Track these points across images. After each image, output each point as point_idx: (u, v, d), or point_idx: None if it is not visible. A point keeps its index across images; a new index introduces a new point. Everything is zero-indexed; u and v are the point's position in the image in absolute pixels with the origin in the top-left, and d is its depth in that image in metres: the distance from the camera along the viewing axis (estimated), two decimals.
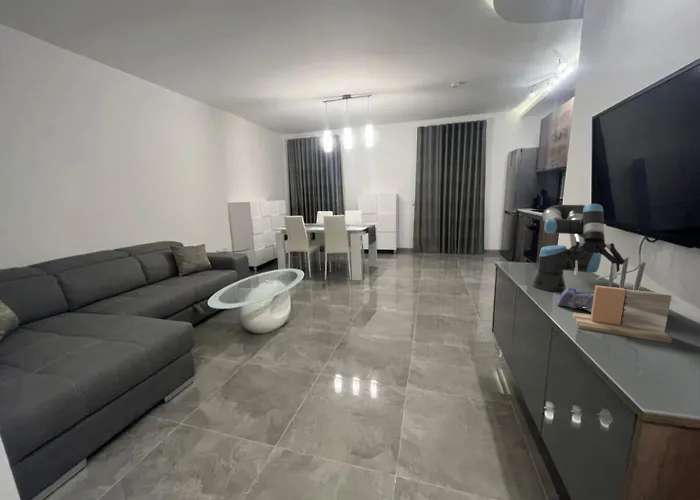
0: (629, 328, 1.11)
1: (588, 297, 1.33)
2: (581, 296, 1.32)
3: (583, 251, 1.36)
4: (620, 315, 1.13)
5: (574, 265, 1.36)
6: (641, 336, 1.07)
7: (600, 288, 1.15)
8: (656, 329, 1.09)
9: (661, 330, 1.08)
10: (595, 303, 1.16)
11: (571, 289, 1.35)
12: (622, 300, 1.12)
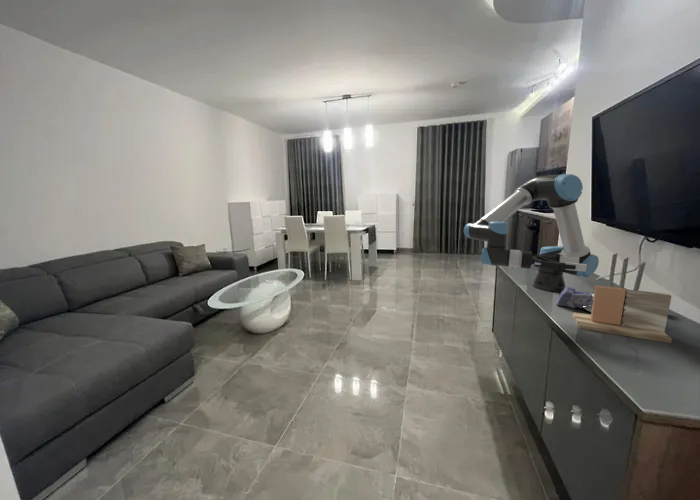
0: (629, 328, 1.11)
1: (587, 297, 1.33)
2: (580, 296, 1.33)
3: None
4: (620, 315, 1.13)
5: None
6: (641, 336, 1.07)
7: (600, 288, 1.15)
8: (656, 329, 1.09)
9: (661, 330, 1.08)
10: (595, 303, 1.16)
11: (570, 289, 1.36)
12: (622, 300, 1.12)
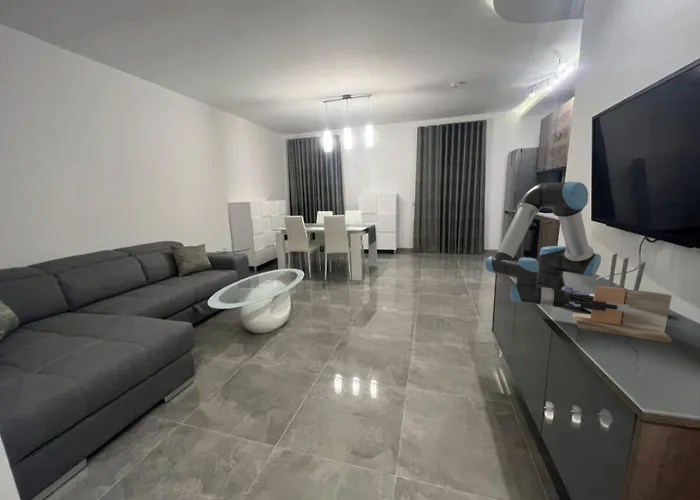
0: (629, 328, 1.11)
1: None
2: None
3: None
4: (620, 315, 1.13)
5: None
6: (641, 336, 1.07)
7: (600, 288, 1.15)
8: (656, 329, 1.09)
9: (661, 330, 1.08)
10: None
11: (568, 288, 1.37)
12: (622, 300, 1.12)
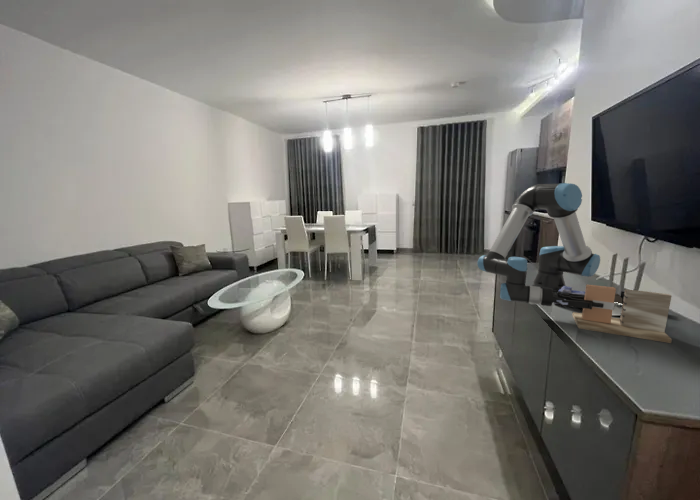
0: (629, 328, 1.11)
1: None
2: None
3: None
4: (610, 314, 1.15)
5: None
6: (641, 336, 1.07)
7: (591, 287, 1.16)
8: (656, 329, 1.09)
9: (661, 330, 1.08)
10: None
11: (567, 288, 1.37)
12: (612, 299, 1.14)
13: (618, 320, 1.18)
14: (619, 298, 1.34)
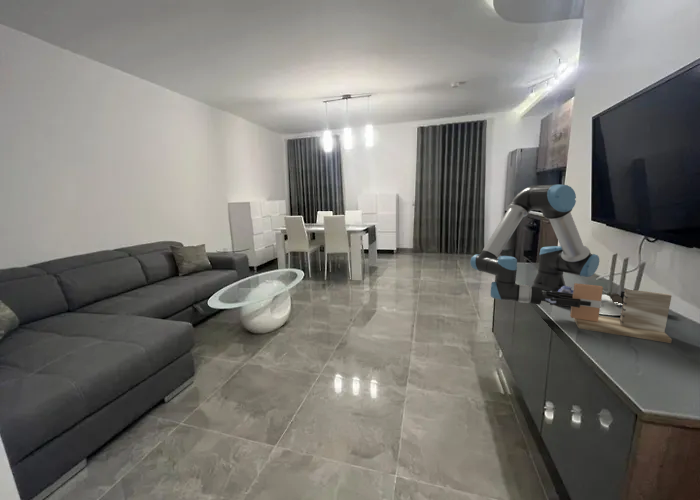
0: (629, 328, 1.11)
1: None
2: None
3: None
4: (598, 312, 1.16)
5: None
6: (641, 336, 1.07)
7: (579, 286, 1.18)
8: (656, 329, 1.09)
9: (661, 330, 1.08)
10: None
11: (567, 287, 1.37)
12: (599, 297, 1.15)
13: (618, 320, 1.18)
14: (619, 298, 1.34)
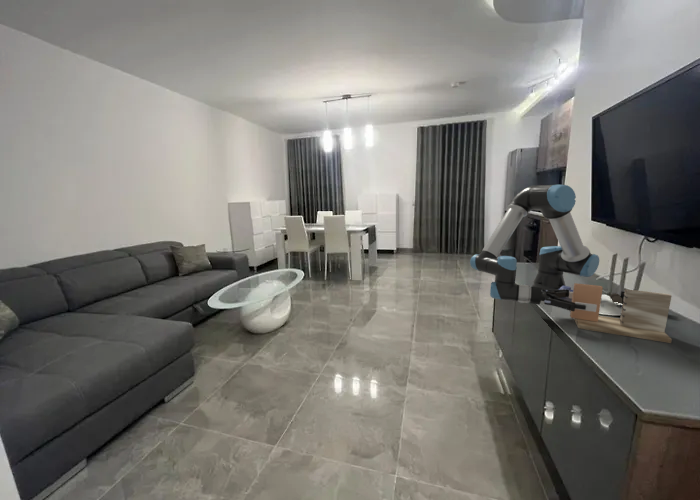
0: (629, 328, 1.11)
1: None
2: None
3: None
4: (598, 312, 1.16)
5: None
6: (641, 336, 1.07)
7: (578, 286, 1.18)
8: (656, 329, 1.09)
9: (661, 330, 1.08)
10: (574, 300, 1.20)
11: (566, 287, 1.38)
12: (599, 297, 1.15)
13: (618, 320, 1.18)
14: (619, 298, 1.34)
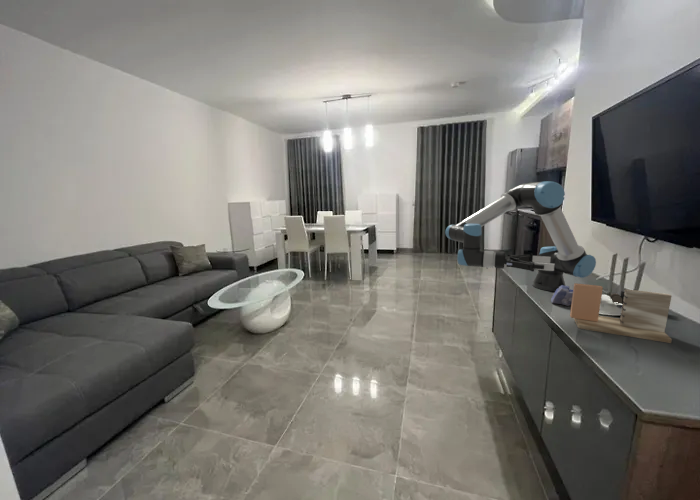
0: (629, 328, 1.11)
1: None
2: None
3: None
4: (598, 312, 1.16)
5: None
6: (641, 336, 1.07)
7: (578, 286, 1.18)
8: (656, 329, 1.09)
9: (661, 330, 1.08)
10: (574, 300, 1.20)
11: (565, 287, 1.38)
12: (599, 297, 1.15)
13: (618, 320, 1.18)
14: (619, 298, 1.34)
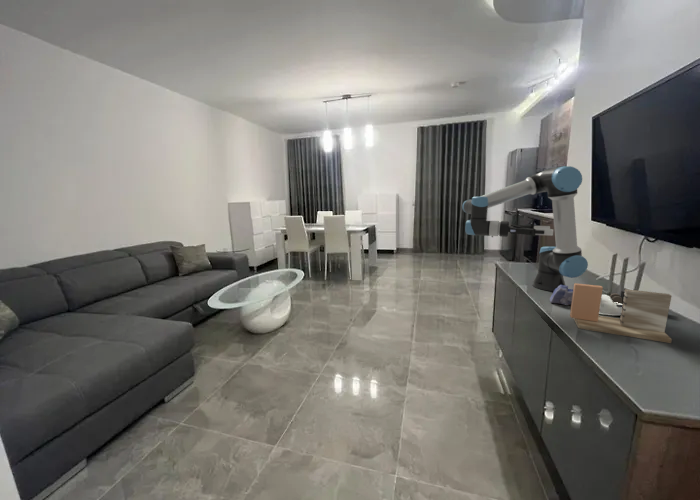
0: (629, 328, 1.11)
1: None
2: None
3: None
4: (598, 312, 1.16)
5: None
6: (641, 336, 1.07)
7: (578, 286, 1.18)
8: (656, 329, 1.09)
9: (661, 330, 1.08)
10: (574, 300, 1.20)
11: (563, 286, 1.39)
12: (599, 297, 1.15)
13: (618, 320, 1.18)
14: (619, 298, 1.34)
